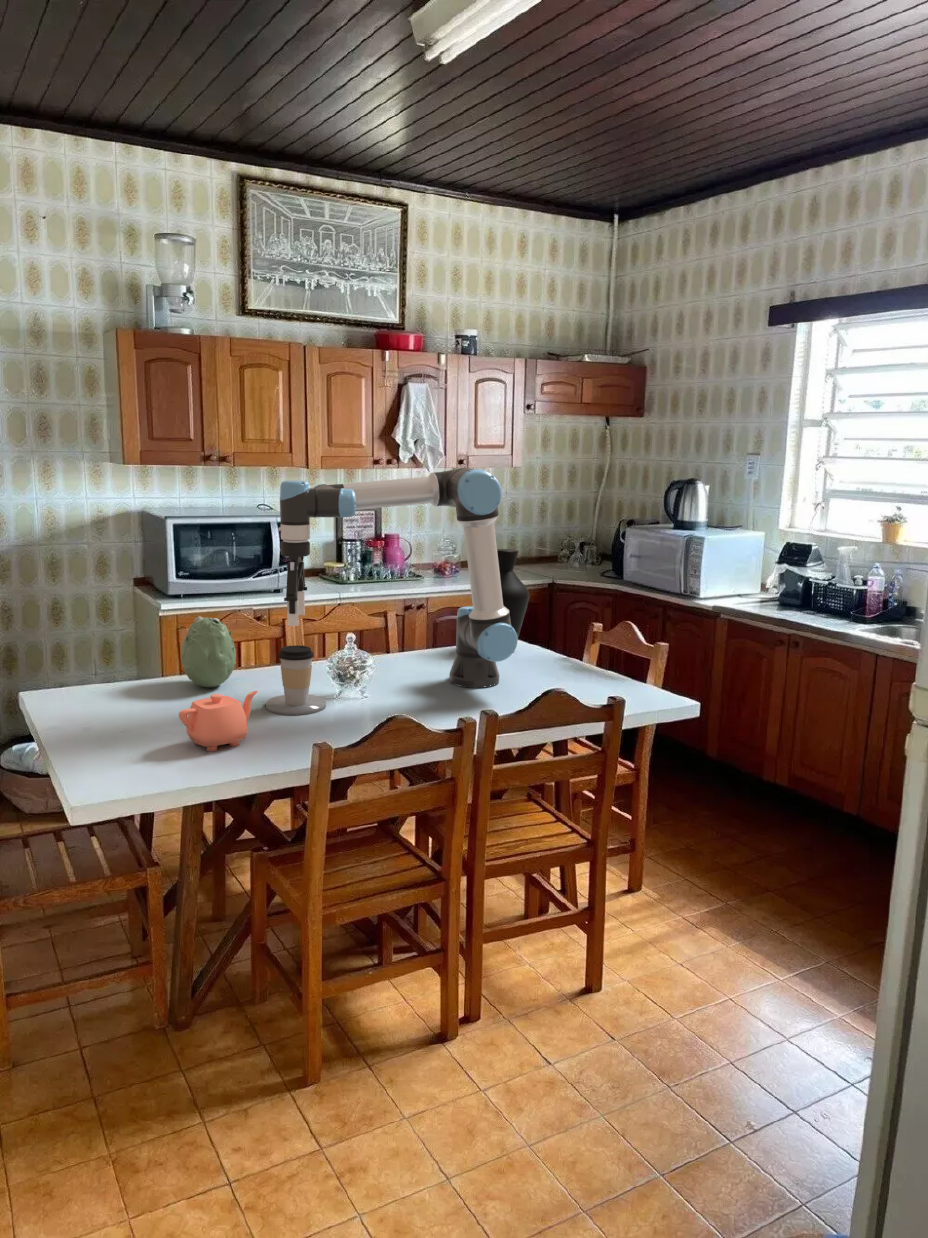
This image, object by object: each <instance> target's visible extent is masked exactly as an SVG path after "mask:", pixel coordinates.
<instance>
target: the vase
mask: <svg viewBox="0 0 928 1238" xmlns="http://www.w3.org/2000/svg"><path fill="white" fill-rule="evenodd" d="M519 553H520V551H519V550H517V549H511V548H497V554H498V563H499V572H500V581H501V589H502V598H503V606H504V607H506V608H507V609H508V610H509V613H510V621H511V626H512V627H513V628H514V629H515V631H516V634H517V637H518V638H519V636H520V633H521V629H522V625H523V622H524V618H525V616H526V611H527V609H528V605H529V600H530V592H529V589H528V588H527V586H526V585H525V584H524V583H523V582H522V580H521V579H520V578H519V577H518V575H517V574H516V573H515V572H514V568H515V566H516V565H515V564H516V562H517V558H518V555H519Z"/></svg>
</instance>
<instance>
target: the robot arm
mask: <svg viewBox="0 0 928 1238" xmlns="http://www.w3.org/2000/svg"><path fill="white" fill-rule="evenodd" d="M279 487H280V488H279V491H280V492H279V512H280V513H279V515H280V517H279V518H280V519H279V521H280V527H278V528H277V530H278V532H280V539H281V540H282V541H281V542H280V555H281V556H283V557H288V558H289V561H288V562H286V570H287V573H286V592H285V593H286V594H285V597H284V598H283V600H284V602H286V613H287V615H286V616H287V619H286V620H287V622H286V623H287V626H288V627H297V626H298V627H299V616H306V611H305V610H306V609H305V608H306V606H305V605H306V604H305V601H306V600H305V597H306V594H305V592H306V591H308V586H306V580H305V578H306V577H305V568H304V567H305V563H304V558H305V557H308V556H310V555H311V542H310V539H311V523H310V522H311V521H310V520H311V518H341V519H344V518H352V517H354V516H355V514H356V510H357V511H359V510H367V509H369V510H370V509H380V508H381V509H382V508H393V507H403V506H415V505H425V504H430V505H432V506H433V507H451V508H455V512H456V521H457V522H458V523H459V524H460V525H461V526H462V527H463V533H464V535H463V537H464V540H465V541H464V542H465V551H466V558H467V559H466V560H467V568H468V569H467V570H468V575H469V585H470V594H471V601H472V606H462V607H459V608H458V609H457V613H456V614H457V615H456V617H455V619H456V634H455V635H456V636H455V637H456V639H455V641H456V643H455V657H454V659H453V662H452V665H451V668H450V670H449V675H448V676H449V678H448V679H449V680H448V681H449V682H450V683H451V684H452V685H455V686H459V685H460V686H459V687H464V686H465V687H466V688H474V687H481V688H485V687H484V686H490V685H494V684H496V685H498V684H499V683H500V672H499V669H498V665H497V662H498V663H499V662H502V661H505V660H507V659H508V658H509V657H511V655H512V654H513V653H515V651H516V649H517V647H518V646H517V645H518V641H519V636H518V637H517V634H516V631H515V629H514V628H513V627H512V626H511V621H510V613H509V610H508V609H507V608H506V607H504V606H503V598H502V589H501V581H500V572H499V563H498V554H497V549H498V548H497V538H496V537H497V536H496V530H495V529H496V527H495V522H496V521H497V519H498V518H500V517H499V516H500V515H499V504H500V503H501V500H502V498H503V497H502V494H503V493H502V487H501V484H500V481H499V480H498V479H497V478H496V477H495V476H494V475H493V474H491V473H490V472H489V471H487V470H484V469H480V468H470V467H459V468H455V469H449V470H443V471H435V472H431V473H430V474H429V475H428V476H420V477H407V478H395V479H385V480H384V479H382V480H370V481H369V480H368V481H360V482H347V483H345V482H344V483H335V484H334V483H333V484H325V483H322V484H321V483H320V484H318V485H315V486H314V487H311V486H310V482H309V481H307V480H292V479H291V480H284V481H282V482H281V484H280V486H279ZM494 686H495V685H494ZM465 687H464V688H465ZM490 687H491V686H490Z"/></svg>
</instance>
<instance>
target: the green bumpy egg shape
mask: <svg viewBox="0 0 928 1238" xmlns="http://www.w3.org/2000/svg"><path fill="white" fill-rule="evenodd" d="M231 636H232V630H230V631H229V630H228V627H227V625H226V624H225V622H224V621H222V622H221V620H220V619H219V618H217V617H214V618H213V617H205V616H204V617H202V616H201V615H199V616H196V617H194V619H193V622H192V623H191V624H190V626H189V627H188V629H187V632H186V634H185V636H184V639H183V640H182V644H181V664H182V666H183V670H184V673H185V675H186V676H187V678H188V680H190V681H191V682H192V683H194V684H196V685H198V686H201V687H202V688H216V687H218V686H220V685H222V684H224V683H225V682H226V681H227V680H228V679H229V678H230V676H231V675H232V672H233V671H234V668H235V666H236V665H237V664H236V659H237V653H236V651H237V649H236V648H235V643H234V639H233V638H232V637H231Z"/></svg>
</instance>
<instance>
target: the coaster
mask: <svg viewBox="0 0 928 1238" xmlns="http://www.w3.org/2000/svg"><path fill="white" fill-rule="evenodd" d="M326 707H327V701H326V699H324V698H323V697H321V696H317V695H313V694H308V702H307V703H306V704H304V705H300V706H293V705H288V704H286V703H285V695H284V694H282V695H277V696H274V697H272V698H269V699H268V700H266V702H265V709H266V710H267V711H268V712H270V713H272V714H277V715H282V716H283V715H284V716H304V715H305V716H306V715H312V714H316V713H319V712H321V711H323V710H325V709H326Z"/></svg>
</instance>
